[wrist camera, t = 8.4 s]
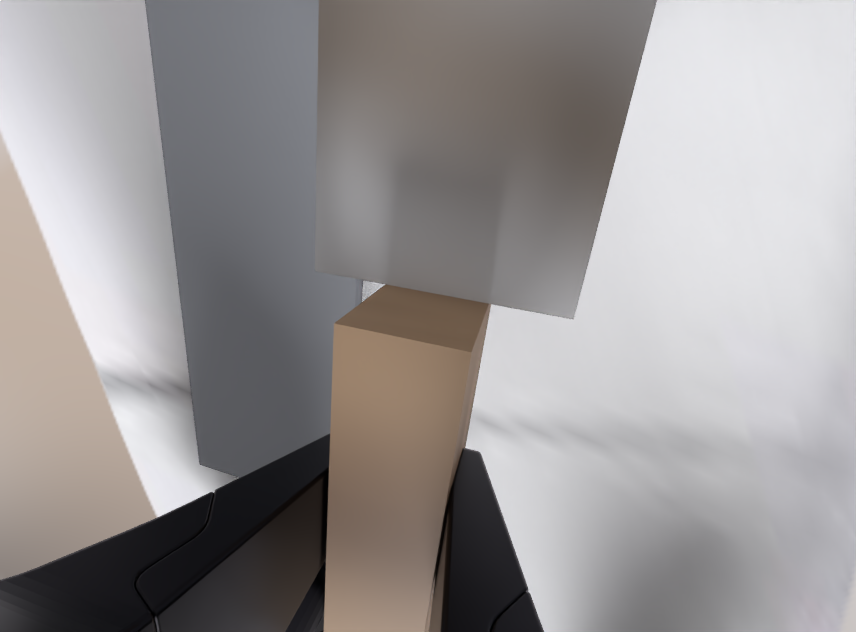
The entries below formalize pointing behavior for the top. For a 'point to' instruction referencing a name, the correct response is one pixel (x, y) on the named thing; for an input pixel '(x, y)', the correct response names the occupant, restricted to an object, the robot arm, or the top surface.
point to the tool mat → (247, 222)
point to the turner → (446, 243)
